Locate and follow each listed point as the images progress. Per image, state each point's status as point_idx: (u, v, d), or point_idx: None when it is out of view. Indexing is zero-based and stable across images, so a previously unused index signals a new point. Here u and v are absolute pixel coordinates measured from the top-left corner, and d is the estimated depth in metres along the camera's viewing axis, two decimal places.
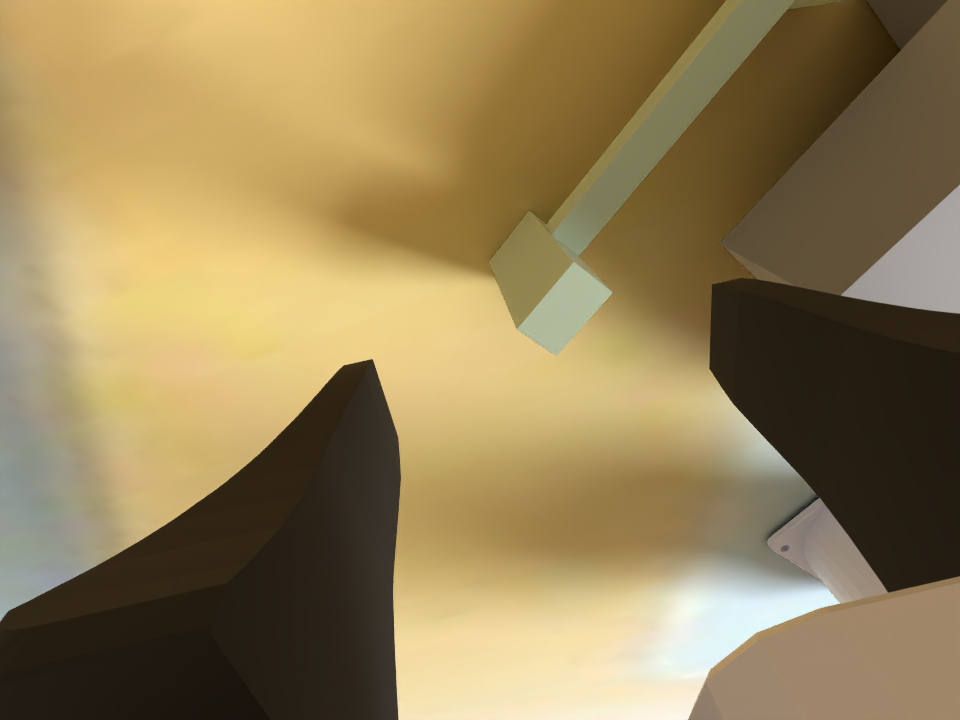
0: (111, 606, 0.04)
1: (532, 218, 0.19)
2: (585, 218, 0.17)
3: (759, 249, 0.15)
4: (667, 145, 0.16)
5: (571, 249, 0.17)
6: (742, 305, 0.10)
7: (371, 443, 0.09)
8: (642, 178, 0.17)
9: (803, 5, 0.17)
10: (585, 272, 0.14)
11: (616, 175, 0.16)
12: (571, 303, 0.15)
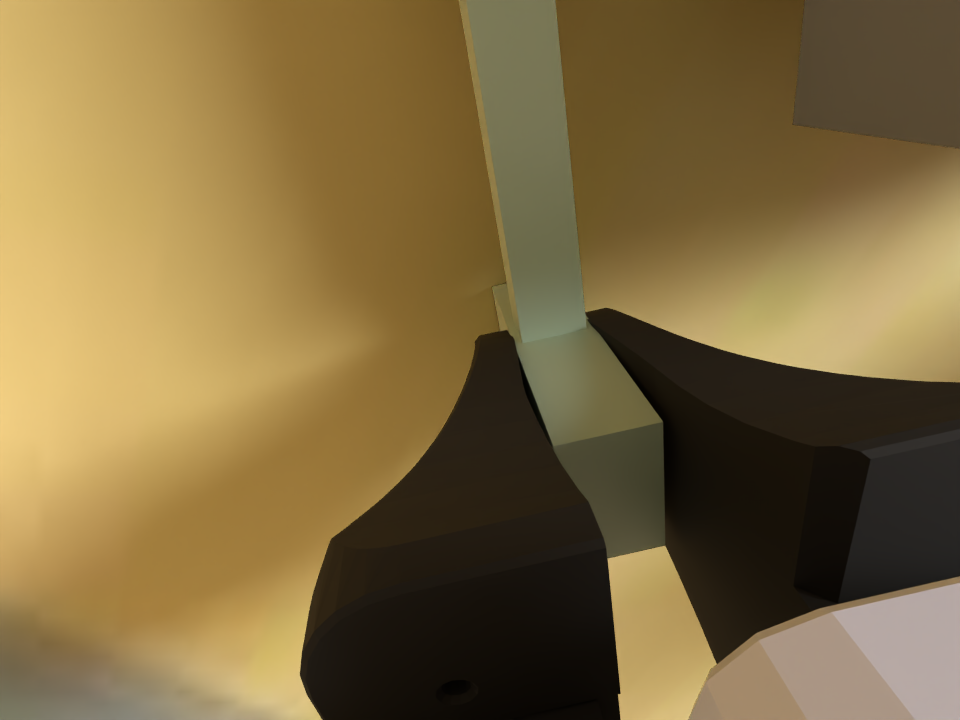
0: (470, 525, 0.04)
1: (498, 306, 0.12)
2: (544, 284, 0.09)
3: (893, 100, 0.06)
4: (554, 80, 0.08)
5: (567, 332, 0.10)
6: None
7: None
8: (568, 155, 0.08)
9: None
10: (587, 440, 0.07)
11: (525, 198, 0.09)
12: (612, 485, 0.08)
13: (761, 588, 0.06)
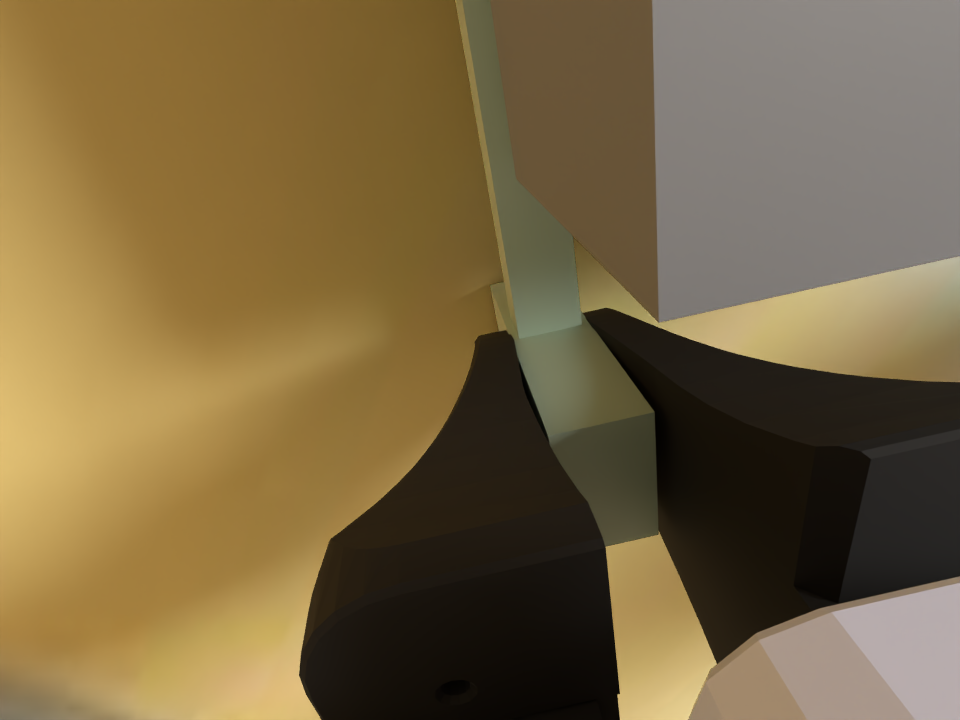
0: (470, 525, 0.04)
1: (496, 304, 0.12)
2: (540, 281, 0.09)
3: (537, 170, 0.06)
4: None
5: (563, 328, 0.10)
6: None
7: None
8: None
9: None
10: (581, 430, 0.07)
11: (521, 196, 0.09)
12: (606, 474, 0.08)
13: (761, 588, 0.06)
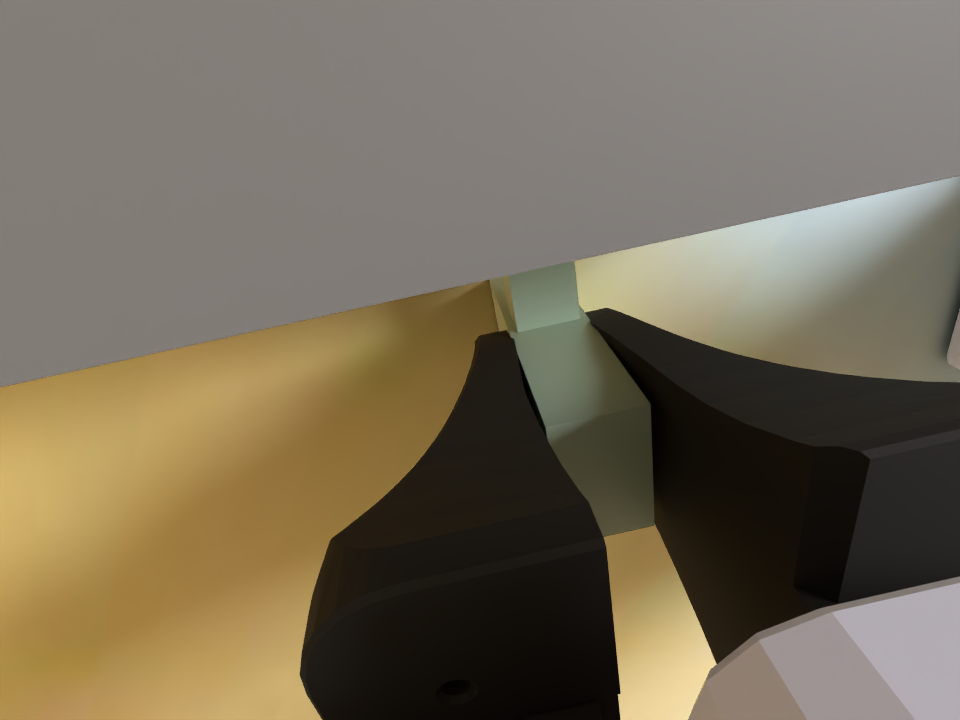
0: (470, 526, 0.04)
1: (495, 298, 0.12)
2: (538, 275, 0.10)
3: None
4: None
5: (561, 322, 0.10)
6: None
7: None
8: None
9: None
10: (578, 422, 0.07)
11: None
12: (603, 465, 0.08)
13: (761, 588, 0.06)
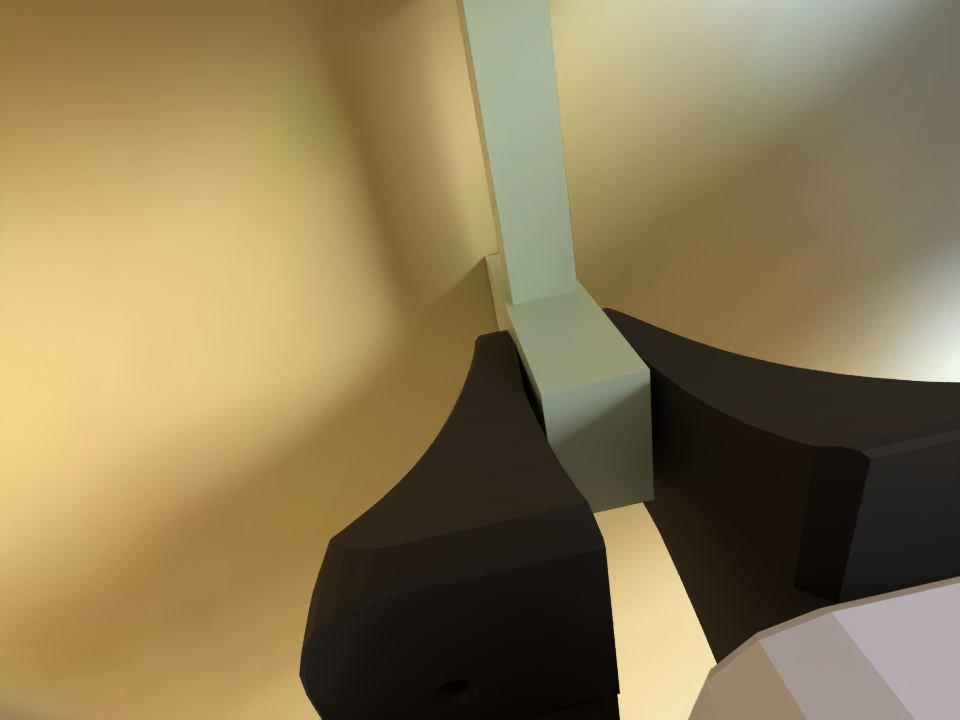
0: (470, 526, 0.04)
1: (491, 274, 0.12)
2: (534, 244, 0.09)
3: None
4: (542, 33, 0.08)
5: (558, 294, 0.10)
6: None
7: None
8: (558, 112, 0.08)
9: None
10: (574, 388, 0.07)
11: (515, 154, 0.09)
12: (600, 435, 0.08)
13: (761, 588, 0.06)
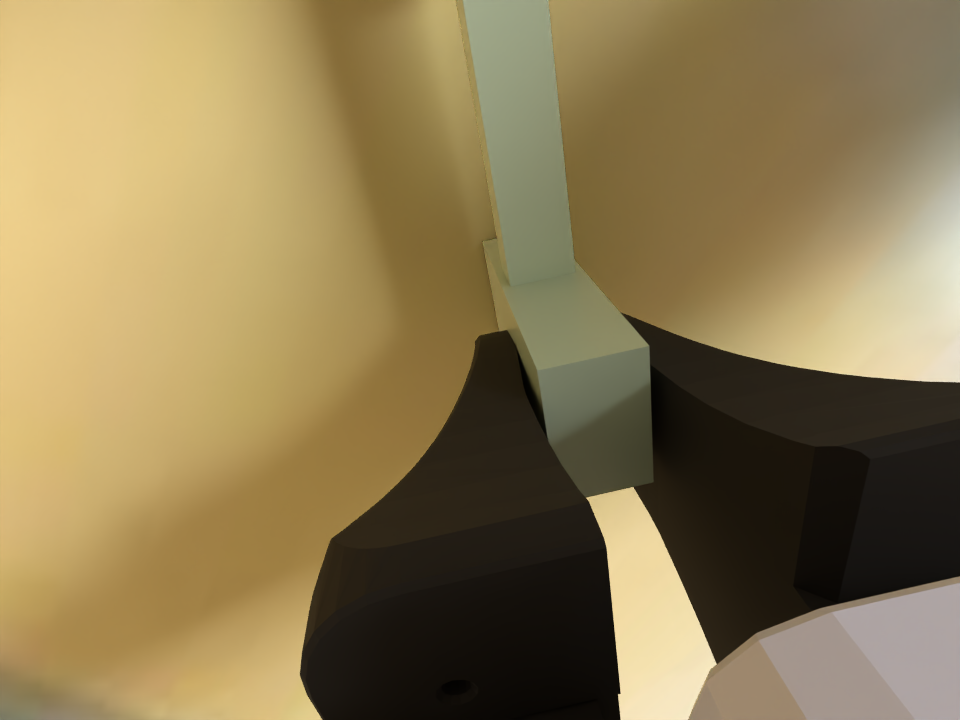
0: (470, 525, 0.04)
1: (488, 258, 0.11)
2: (532, 224, 0.09)
3: None
4: (539, 4, 0.08)
5: (556, 275, 0.10)
6: None
7: None
8: (556, 86, 0.08)
9: None
10: (571, 365, 0.07)
11: (511, 130, 0.08)
12: (598, 414, 0.07)
13: (761, 588, 0.06)
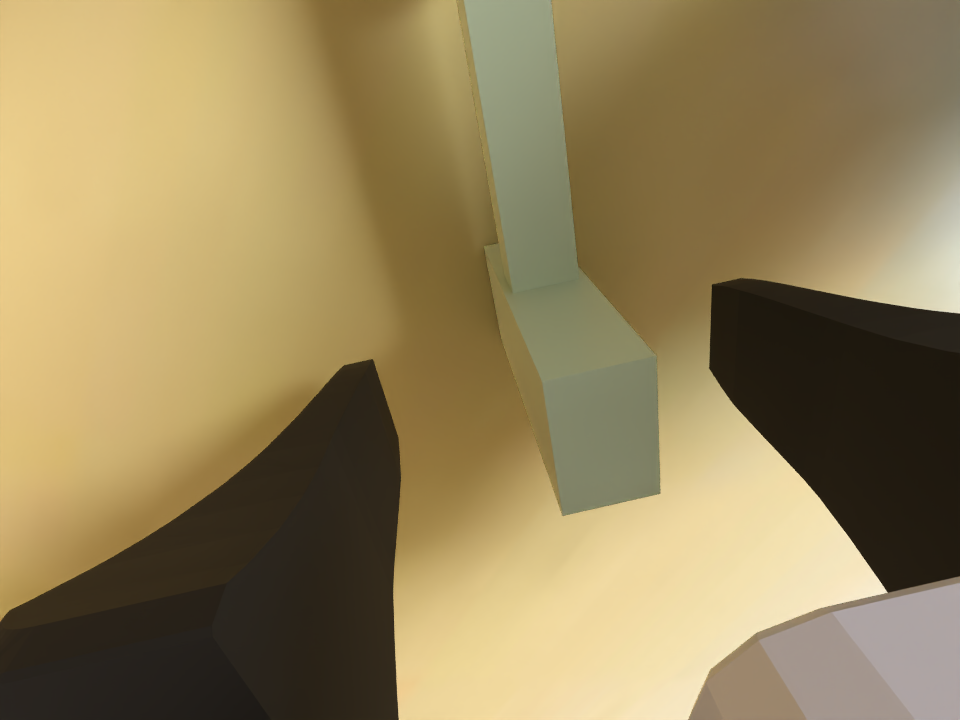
0: (112, 606, 0.04)
1: (490, 264, 0.11)
2: (535, 230, 0.09)
3: None
4: (542, 6, 0.07)
5: (559, 282, 0.09)
6: (742, 305, 0.10)
7: (370, 443, 0.09)
8: (558, 91, 0.08)
9: None
10: (577, 375, 0.07)
11: (514, 134, 0.08)
12: (605, 425, 0.07)
13: None
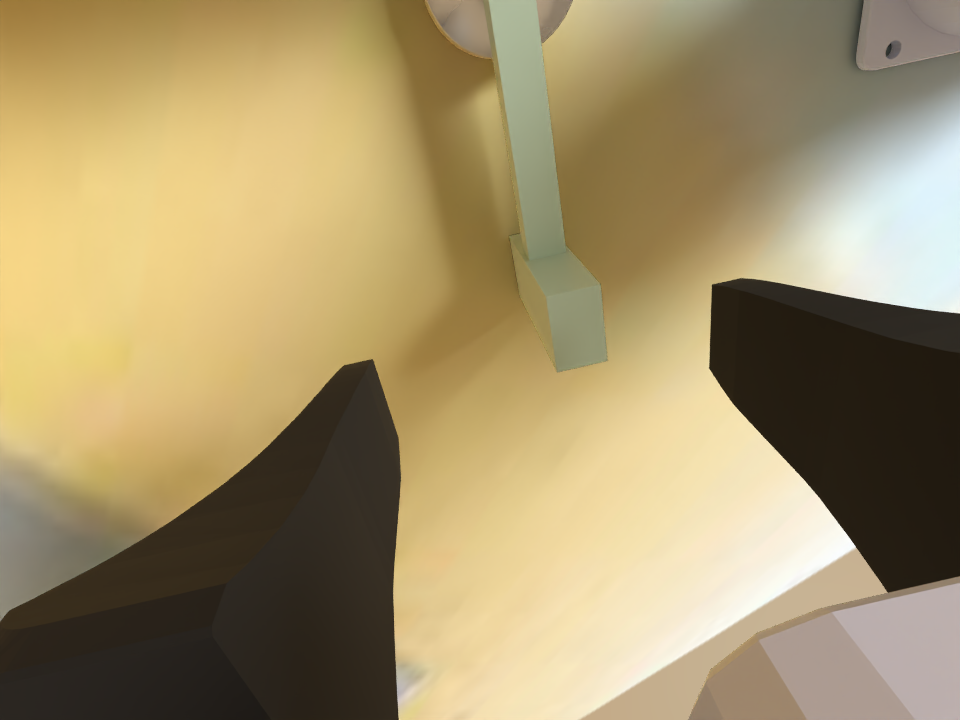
0: (111, 606, 0.04)
1: (514, 246, 0.19)
2: (541, 225, 0.16)
3: None
4: (545, 112, 0.15)
5: (555, 254, 0.17)
6: (742, 305, 0.10)
7: (371, 442, 0.09)
8: (553, 152, 0.16)
9: None
10: (563, 294, 0.14)
11: (530, 175, 0.16)
12: (577, 321, 0.15)
13: None
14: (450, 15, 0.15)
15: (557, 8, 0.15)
